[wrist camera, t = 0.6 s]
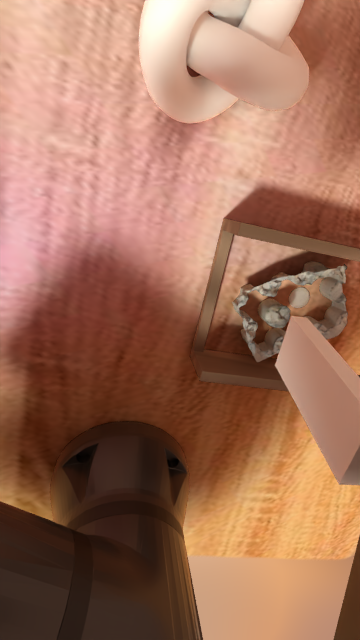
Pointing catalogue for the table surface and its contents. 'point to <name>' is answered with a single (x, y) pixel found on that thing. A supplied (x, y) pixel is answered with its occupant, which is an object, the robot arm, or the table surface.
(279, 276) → the egg carton
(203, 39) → the white knot sculpture
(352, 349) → the table surface
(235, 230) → the brown u-shaped frame
